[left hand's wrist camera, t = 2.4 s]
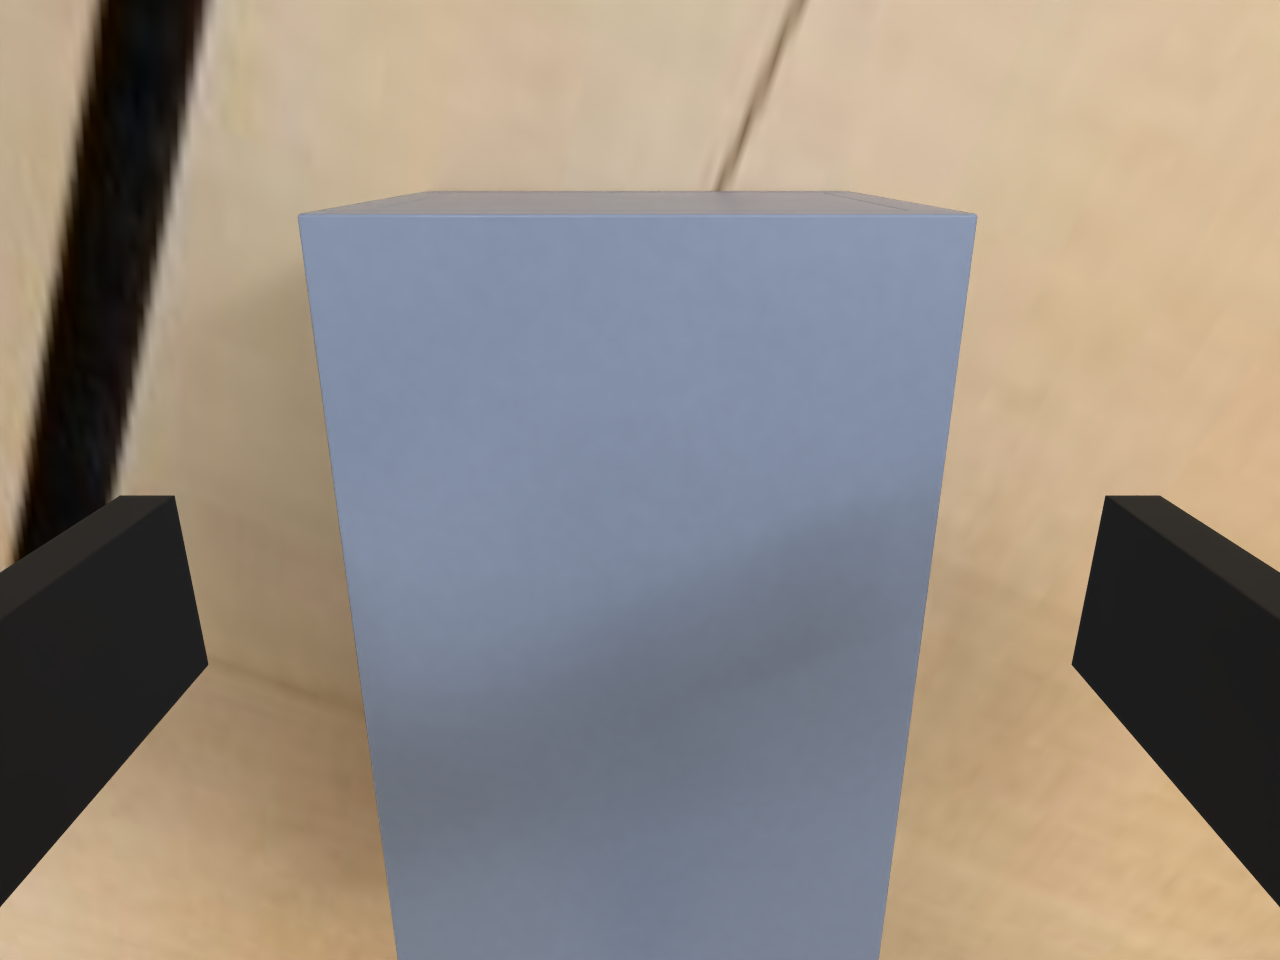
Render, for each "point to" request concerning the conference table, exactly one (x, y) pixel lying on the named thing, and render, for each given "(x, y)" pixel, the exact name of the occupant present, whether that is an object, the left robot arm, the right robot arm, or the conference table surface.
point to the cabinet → (637, 555)
